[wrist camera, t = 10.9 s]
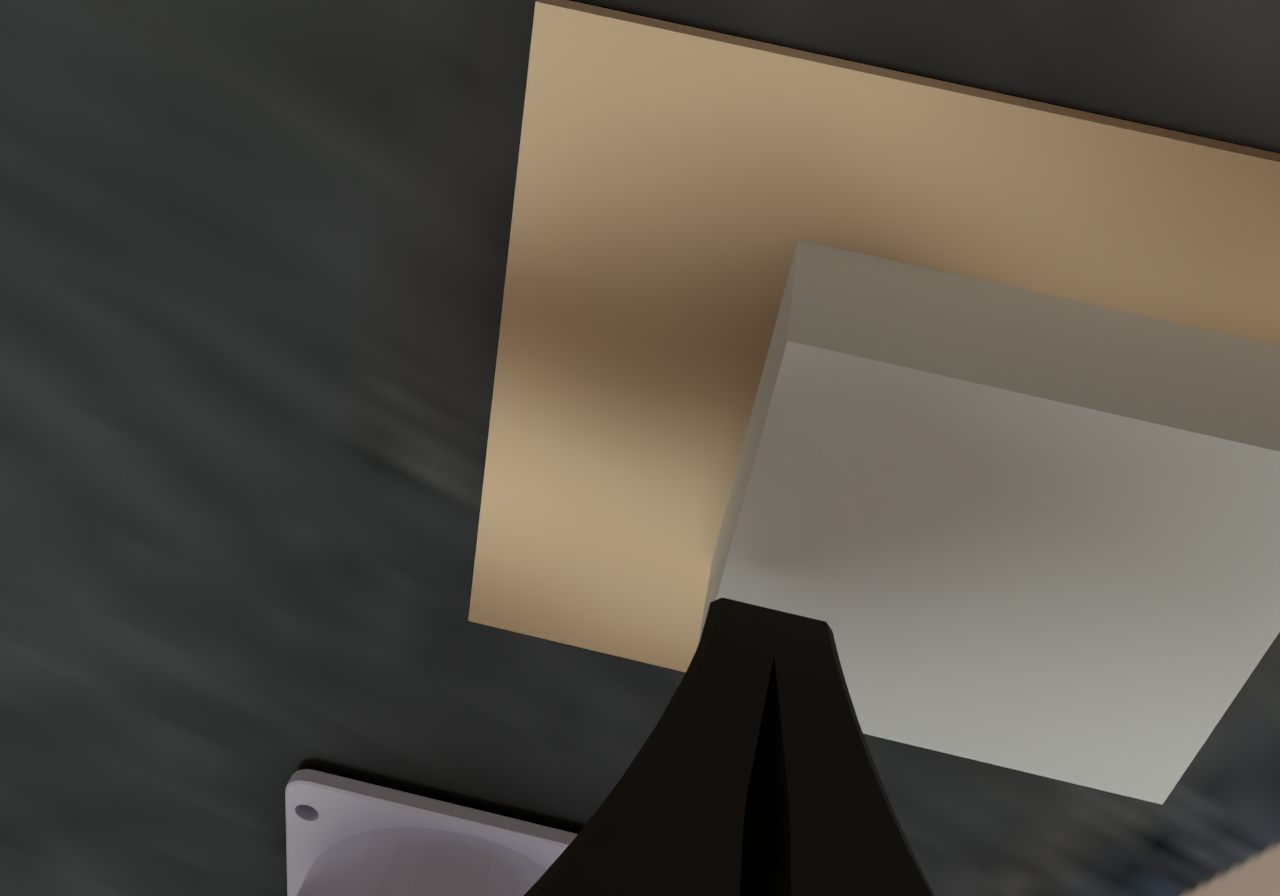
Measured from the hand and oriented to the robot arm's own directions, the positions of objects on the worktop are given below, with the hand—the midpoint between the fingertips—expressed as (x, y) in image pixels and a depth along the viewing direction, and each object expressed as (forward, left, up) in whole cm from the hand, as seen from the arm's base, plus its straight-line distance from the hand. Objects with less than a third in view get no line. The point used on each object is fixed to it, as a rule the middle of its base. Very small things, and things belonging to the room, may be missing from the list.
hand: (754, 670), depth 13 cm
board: (0, -2, -6) cm, 6 cm away
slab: (0, 0, -4) cm, 4 cm away
